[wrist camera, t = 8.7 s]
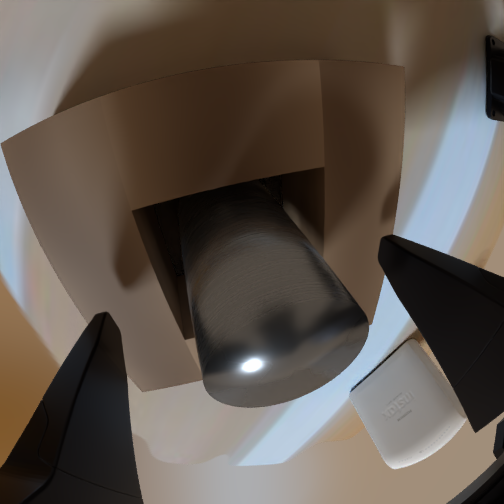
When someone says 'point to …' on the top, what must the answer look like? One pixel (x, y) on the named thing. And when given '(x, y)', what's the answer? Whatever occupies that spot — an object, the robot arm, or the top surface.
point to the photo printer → (408, 407)
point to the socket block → (209, 185)
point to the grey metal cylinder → (262, 299)
